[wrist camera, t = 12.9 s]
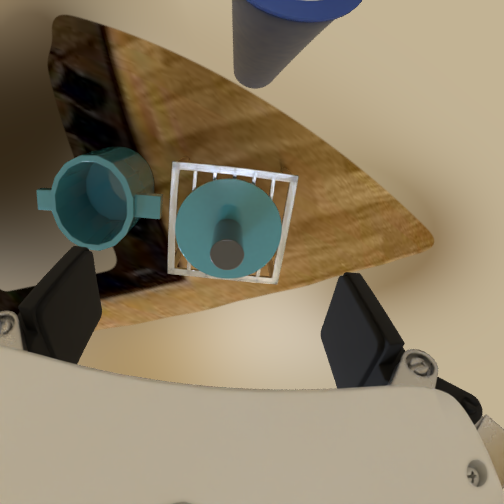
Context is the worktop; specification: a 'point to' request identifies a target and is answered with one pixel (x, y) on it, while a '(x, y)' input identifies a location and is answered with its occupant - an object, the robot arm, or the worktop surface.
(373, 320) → the robot arm
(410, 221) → the worktop surface
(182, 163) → the rack
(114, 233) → the pot
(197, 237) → the lid
